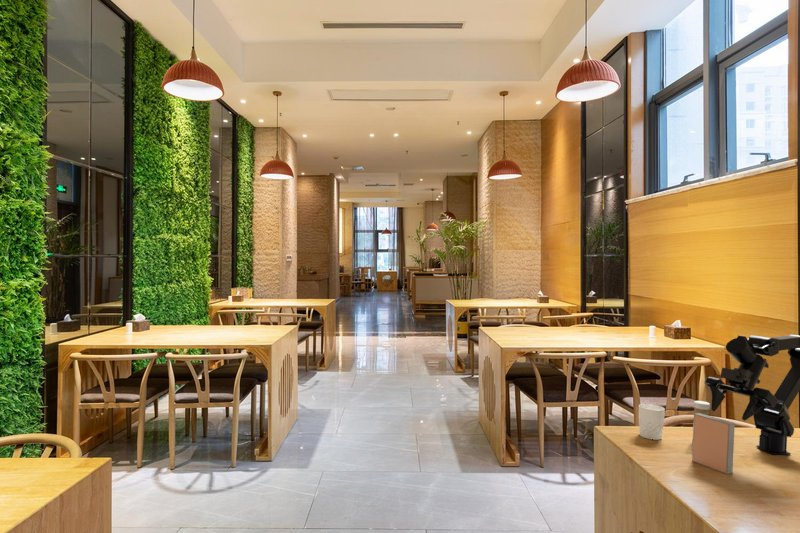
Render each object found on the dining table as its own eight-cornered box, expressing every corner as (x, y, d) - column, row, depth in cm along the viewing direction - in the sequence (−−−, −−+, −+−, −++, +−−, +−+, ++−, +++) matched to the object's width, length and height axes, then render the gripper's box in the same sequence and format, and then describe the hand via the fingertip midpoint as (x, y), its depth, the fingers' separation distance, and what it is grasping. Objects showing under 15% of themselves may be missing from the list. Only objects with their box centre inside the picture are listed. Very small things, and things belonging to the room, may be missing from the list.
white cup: (657, 433, 172) (659, 404, 172) (667, 441, 164) (669, 411, 164) (633, 431, 173) (635, 403, 173) (642, 439, 165) (644, 409, 165)
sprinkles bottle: (697, 439, 167) (699, 399, 167) (711, 444, 163) (713, 403, 163) (689, 441, 165) (690, 400, 165) (702, 446, 161) (704, 404, 161)
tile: (697, 459, 149) (699, 413, 149) (732, 472, 140) (734, 423, 140) (691, 461, 148) (693, 413, 148) (727, 474, 139) (729, 424, 139)
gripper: (706, 351, 160) (684, 393, 156) (768, 363, 143) (746, 410, 139) (724, 370, 163) (703, 411, 160) (787, 384, 146) (765, 430, 143)
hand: (727, 415), depth 150 cm, fingers open, 9 cm apart
